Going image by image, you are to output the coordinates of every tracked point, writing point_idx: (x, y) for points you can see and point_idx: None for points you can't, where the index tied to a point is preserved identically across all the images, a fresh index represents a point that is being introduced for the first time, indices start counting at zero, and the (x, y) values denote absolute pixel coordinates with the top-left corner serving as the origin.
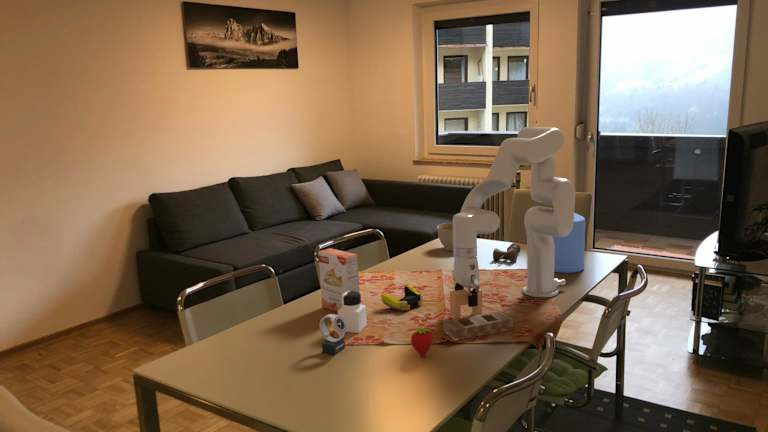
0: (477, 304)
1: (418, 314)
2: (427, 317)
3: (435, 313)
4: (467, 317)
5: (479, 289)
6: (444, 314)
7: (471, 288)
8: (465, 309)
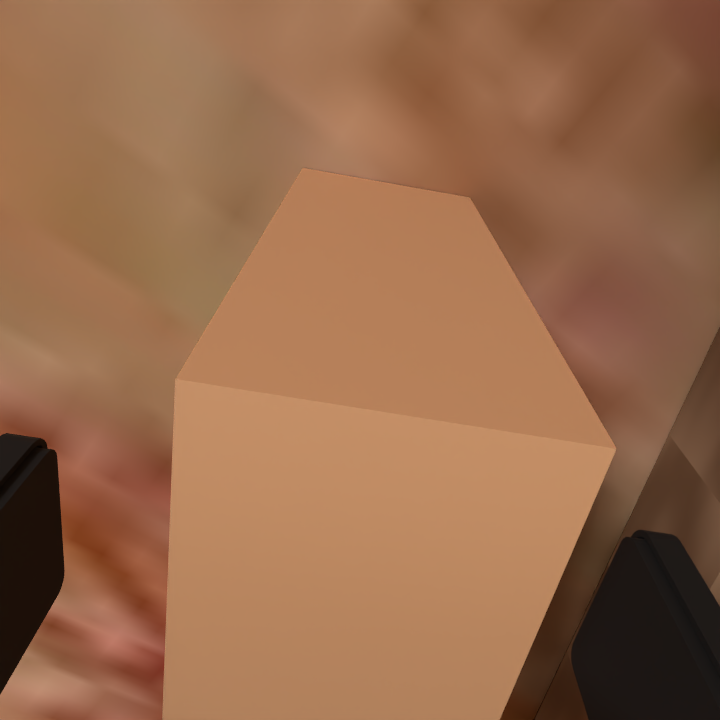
0: (679, 548)
1: (13, 690)
2: (130, 673)
3: None
4: None
5: (471, 464)
6: (130, 528)
7: (197, 586)
8: (78, 227)
